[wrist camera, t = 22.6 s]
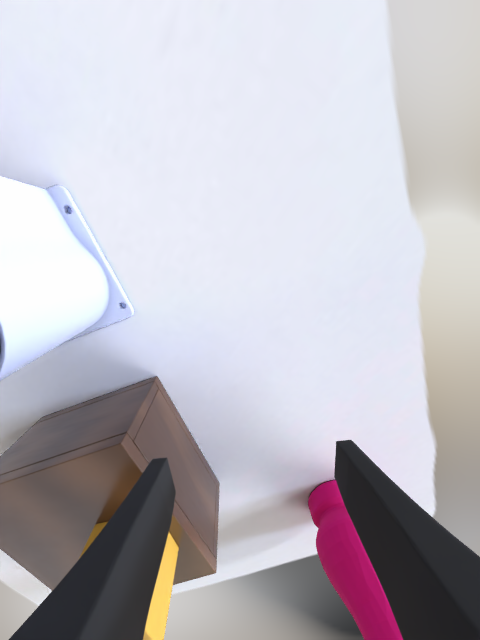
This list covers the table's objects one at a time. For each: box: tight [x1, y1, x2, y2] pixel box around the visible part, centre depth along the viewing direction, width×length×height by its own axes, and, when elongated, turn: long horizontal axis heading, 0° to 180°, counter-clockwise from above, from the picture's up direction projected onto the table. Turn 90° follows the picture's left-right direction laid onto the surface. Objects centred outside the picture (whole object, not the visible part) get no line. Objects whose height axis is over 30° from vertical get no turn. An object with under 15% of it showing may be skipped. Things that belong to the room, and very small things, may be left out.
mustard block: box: [79, 522, 179, 640], centre depth 14 cm, size 4×4×4 cm
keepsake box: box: [0, 376, 219, 559], centre depth 19 cm, size 12×15×6 cm
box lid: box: [0, 433, 217, 591], centre depth 16 cm, size 12×15×1 cm
